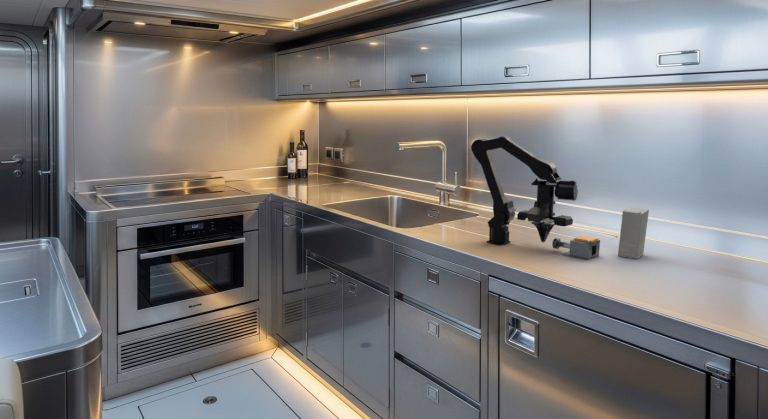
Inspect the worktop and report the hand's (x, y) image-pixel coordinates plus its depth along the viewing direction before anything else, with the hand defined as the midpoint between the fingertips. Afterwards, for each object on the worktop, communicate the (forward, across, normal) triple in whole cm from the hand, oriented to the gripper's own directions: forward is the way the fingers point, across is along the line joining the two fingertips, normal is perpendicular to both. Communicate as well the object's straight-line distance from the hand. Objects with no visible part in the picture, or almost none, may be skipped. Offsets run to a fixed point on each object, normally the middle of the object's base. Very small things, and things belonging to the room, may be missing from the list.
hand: (543, 242), depth 189 cm
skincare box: (+2, +26, +12) cm, 29 cm away
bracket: (+2, +14, 0) cm, 14 cm away
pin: (+1, +10, 0) cm, 10 cm away
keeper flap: (-3, +16, 0) cm, 16 cm away
